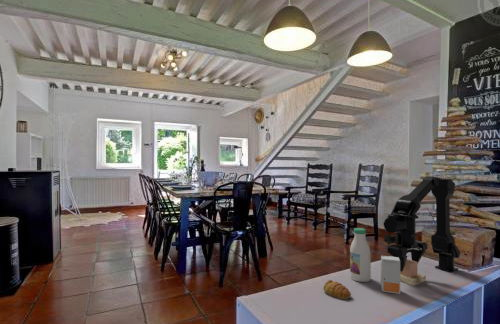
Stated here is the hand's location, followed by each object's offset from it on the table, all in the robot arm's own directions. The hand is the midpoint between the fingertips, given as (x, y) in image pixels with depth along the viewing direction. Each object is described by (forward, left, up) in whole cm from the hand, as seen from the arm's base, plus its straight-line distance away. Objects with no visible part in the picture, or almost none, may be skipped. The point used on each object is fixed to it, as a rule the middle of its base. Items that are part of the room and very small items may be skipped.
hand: (407, 269), depth 112 cm
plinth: (0, 0, -4) cm, 4 cm away
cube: (0, 0, -2) cm, 2 cm away
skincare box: (+16, +3, -4) cm, 17 cm away
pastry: (+34, -5, -4) cm, 35 cm away
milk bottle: (+16, -10, -4) cm, 19 cm away
